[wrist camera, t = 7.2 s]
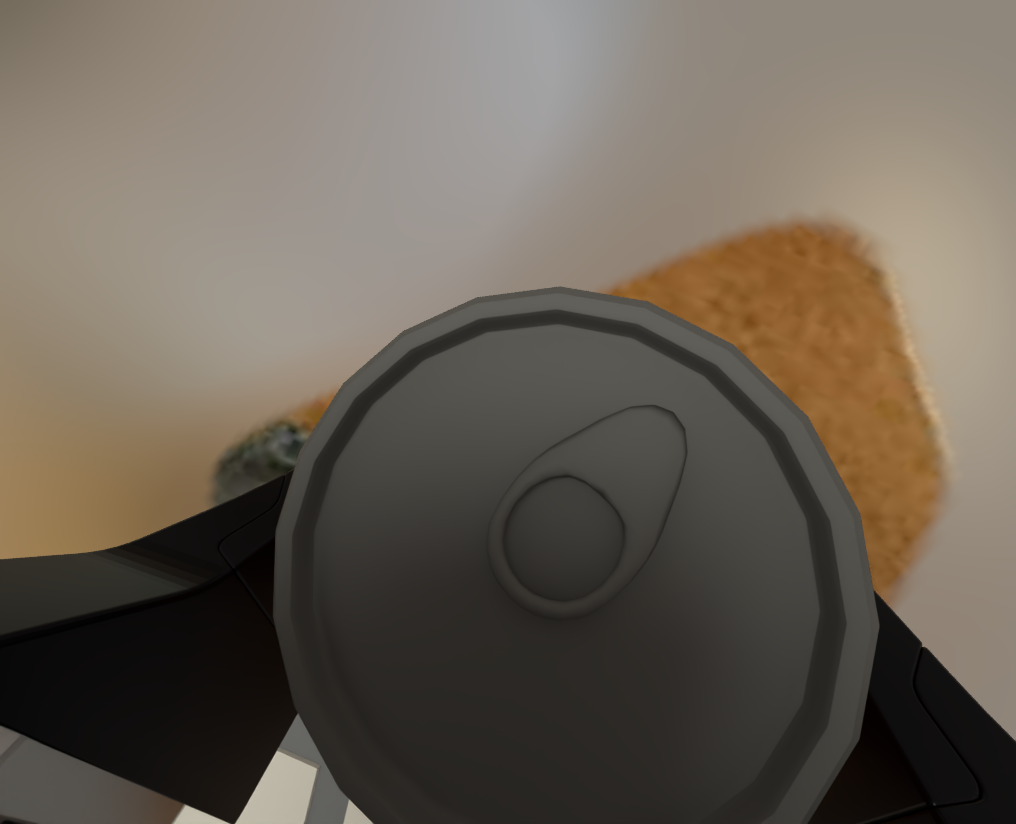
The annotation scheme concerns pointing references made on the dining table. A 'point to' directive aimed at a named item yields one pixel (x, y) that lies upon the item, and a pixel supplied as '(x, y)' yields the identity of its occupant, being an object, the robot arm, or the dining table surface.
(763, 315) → the dining table surface
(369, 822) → the label board
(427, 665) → the beer can
